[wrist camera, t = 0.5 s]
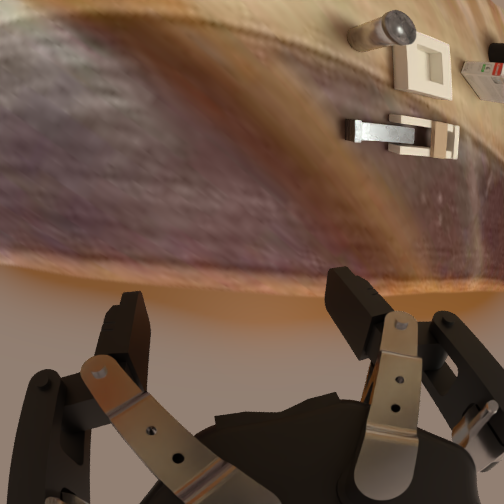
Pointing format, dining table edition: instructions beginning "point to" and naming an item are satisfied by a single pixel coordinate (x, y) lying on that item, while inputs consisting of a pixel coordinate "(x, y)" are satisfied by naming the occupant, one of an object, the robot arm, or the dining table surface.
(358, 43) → the salt shaker
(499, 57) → the mug
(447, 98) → the socket block
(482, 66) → the ink box
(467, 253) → the dining table surface
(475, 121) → the dining table surface
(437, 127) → the pin guide
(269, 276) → the dining table surface
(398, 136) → the pin
